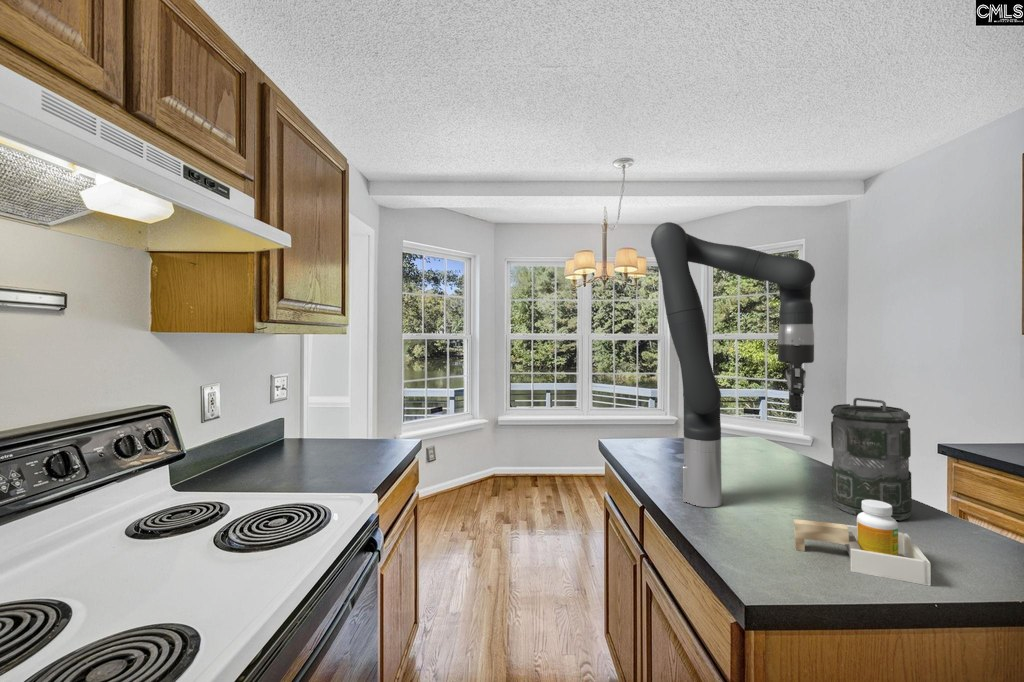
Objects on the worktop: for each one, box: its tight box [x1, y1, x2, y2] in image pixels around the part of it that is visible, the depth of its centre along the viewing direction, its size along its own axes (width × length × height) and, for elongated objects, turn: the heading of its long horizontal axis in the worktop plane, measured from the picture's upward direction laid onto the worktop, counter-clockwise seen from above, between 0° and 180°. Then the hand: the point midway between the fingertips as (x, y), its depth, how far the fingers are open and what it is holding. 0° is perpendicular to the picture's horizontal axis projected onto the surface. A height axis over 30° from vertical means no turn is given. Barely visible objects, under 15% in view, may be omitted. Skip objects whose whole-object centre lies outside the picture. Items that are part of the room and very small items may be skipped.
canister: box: [830, 397, 913, 521], centre depth 115 cm, size 16×16×28 cm
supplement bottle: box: [856, 500, 899, 556], centre depth 88 cm, size 6×6×11 cm
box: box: [839, 524, 932, 587], centre depth 88 cm, size 11×14×4 cm
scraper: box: [793, 518, 861, 559], centre depth 92 cm, size 10×9×6 cm
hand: (795, 409), depth 112 cm, fingers open, 8 cm apart
